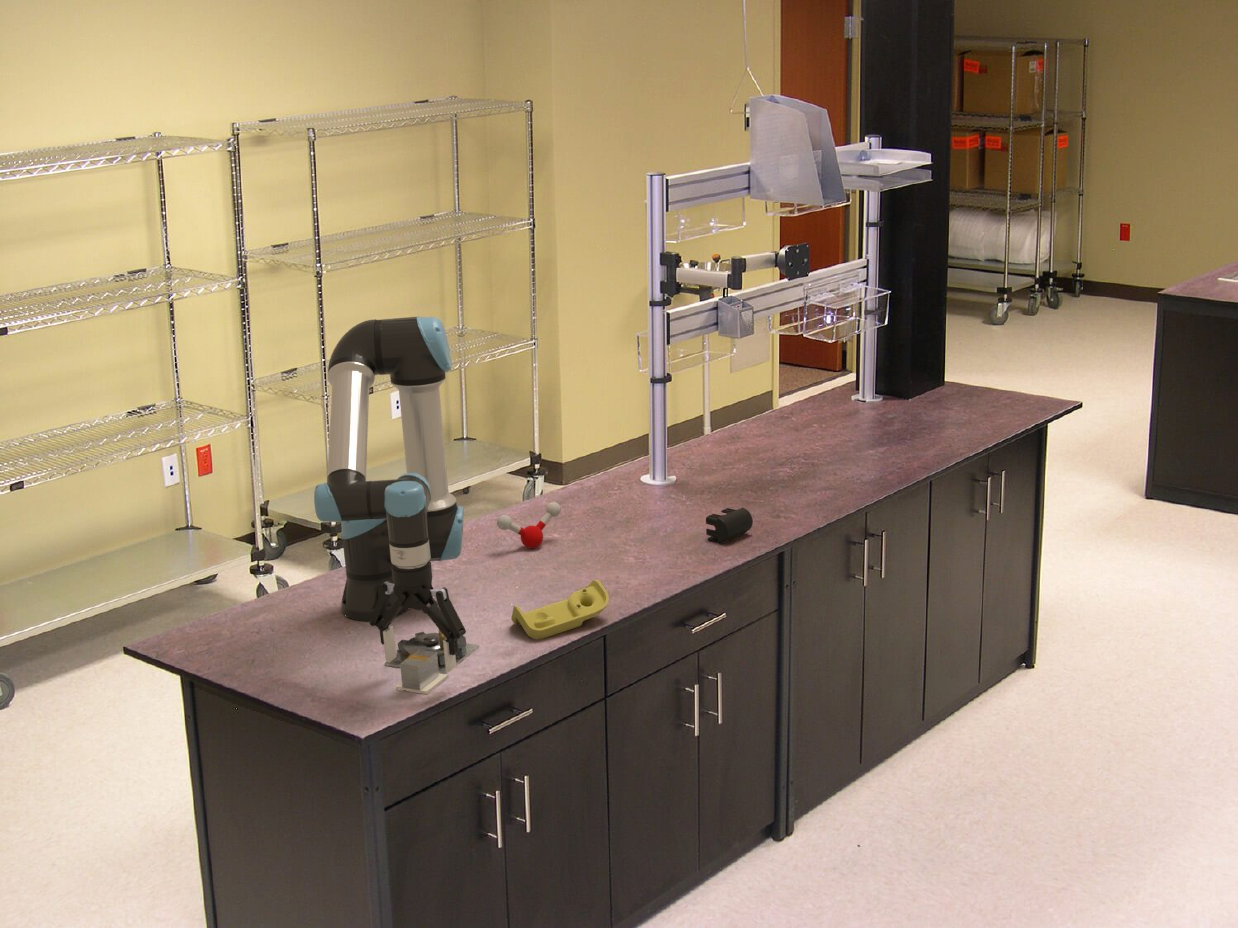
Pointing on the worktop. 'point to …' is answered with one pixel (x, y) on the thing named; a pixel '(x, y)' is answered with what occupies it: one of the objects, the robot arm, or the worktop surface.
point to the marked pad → (428, 687)
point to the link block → (419, 669)
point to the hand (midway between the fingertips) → (421, 664)
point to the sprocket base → (442, 669)
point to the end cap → (728, 524)
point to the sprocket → (428, 646)
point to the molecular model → (530, 534)
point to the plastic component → (563, 612)
